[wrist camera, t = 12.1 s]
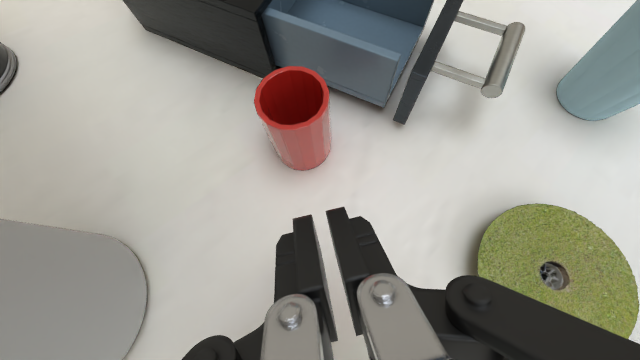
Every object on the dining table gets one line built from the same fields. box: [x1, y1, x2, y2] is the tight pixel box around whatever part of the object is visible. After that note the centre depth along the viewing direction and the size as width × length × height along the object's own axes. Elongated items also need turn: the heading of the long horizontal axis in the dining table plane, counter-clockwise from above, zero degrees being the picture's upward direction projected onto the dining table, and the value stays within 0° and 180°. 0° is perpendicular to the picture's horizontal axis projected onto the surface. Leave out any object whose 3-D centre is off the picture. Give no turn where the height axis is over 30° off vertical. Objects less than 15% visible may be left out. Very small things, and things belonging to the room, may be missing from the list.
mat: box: [477, 204, 639, 339], centre depth 21 cm, size 11×11×2 cm
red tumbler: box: [254, 66, 331, 170], centre depth 23 cm, size 5×5×8 cm
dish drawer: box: [262, 0, 525, 124], centre depth 26 cm, size 23×12×7 cm, turn 63°
